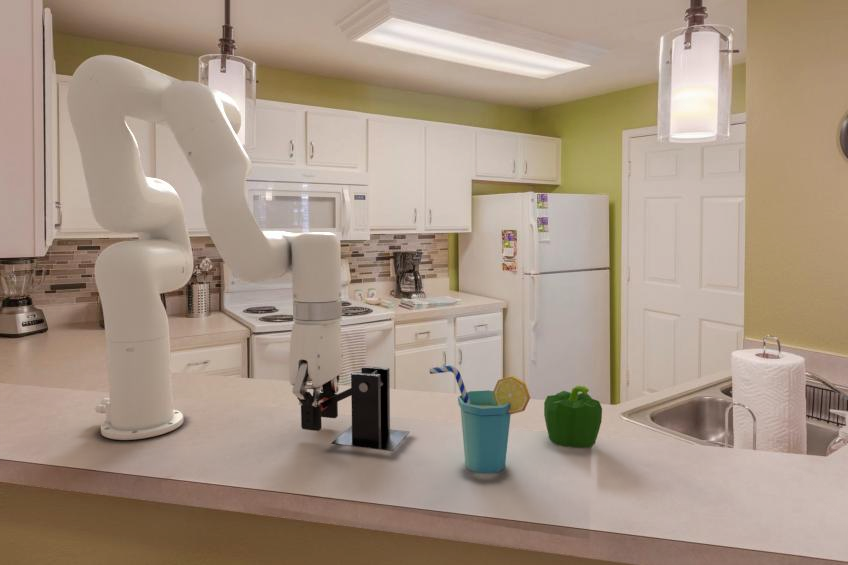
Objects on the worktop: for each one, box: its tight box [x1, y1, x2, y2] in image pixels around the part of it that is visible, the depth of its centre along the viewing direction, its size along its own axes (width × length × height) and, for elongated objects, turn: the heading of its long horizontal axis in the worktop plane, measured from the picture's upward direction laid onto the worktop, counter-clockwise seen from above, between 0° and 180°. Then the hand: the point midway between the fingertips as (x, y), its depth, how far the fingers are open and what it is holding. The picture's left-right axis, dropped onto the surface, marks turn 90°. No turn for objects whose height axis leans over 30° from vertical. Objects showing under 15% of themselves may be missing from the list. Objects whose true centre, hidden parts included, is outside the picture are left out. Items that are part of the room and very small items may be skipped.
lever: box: [318, 370, 384, 411], centre depth 90 cm, size 12×5×2 cm, turn 71°
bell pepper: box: [543, 385, 603, 449], centre depth 88 cm, size 8×8×10 cm
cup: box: [428, 364, 531, 475], centre depth 79 cm, size 14×8×15 cm, turn 76°
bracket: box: [331, 365, 410, 452], centre depth 89 cm, size 10×8×12 cm
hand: (320, 421), depth 92 cm, fingers closed on lever, 5 cm apart
